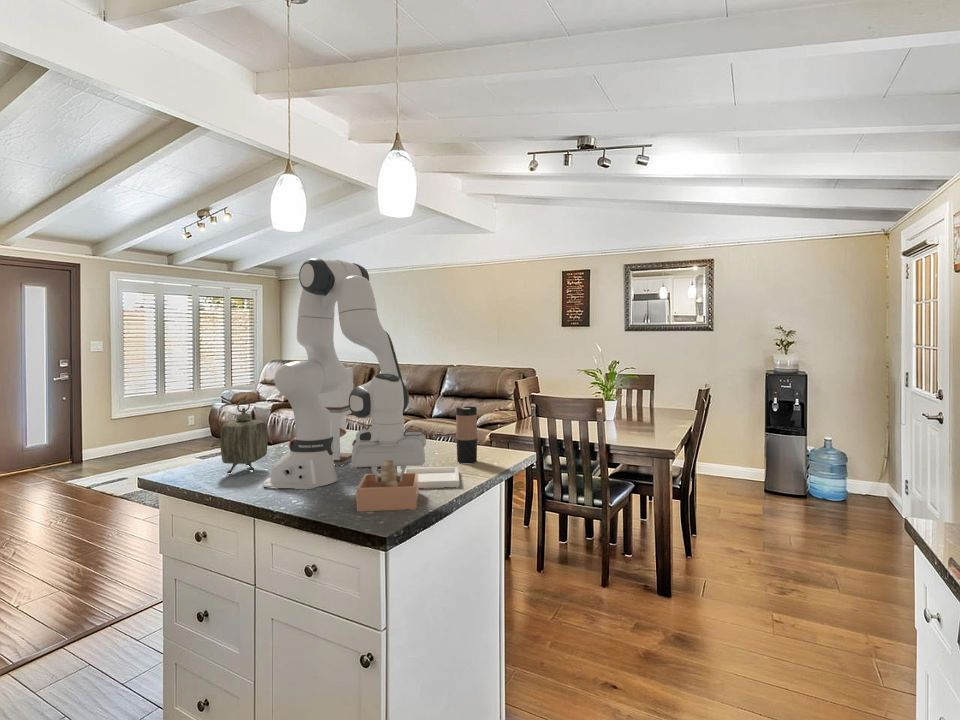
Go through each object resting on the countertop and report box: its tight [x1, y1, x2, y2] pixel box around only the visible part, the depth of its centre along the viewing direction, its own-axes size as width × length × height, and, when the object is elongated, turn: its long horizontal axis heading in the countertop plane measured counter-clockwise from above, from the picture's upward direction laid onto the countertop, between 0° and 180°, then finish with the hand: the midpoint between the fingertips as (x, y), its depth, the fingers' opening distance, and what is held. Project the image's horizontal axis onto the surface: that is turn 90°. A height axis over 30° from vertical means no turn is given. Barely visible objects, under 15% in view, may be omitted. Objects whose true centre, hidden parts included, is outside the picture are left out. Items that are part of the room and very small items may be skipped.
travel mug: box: [455, 405, 478, 464], centre depth 197 cm, size 8×8×20 cm
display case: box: [319, 366, 354, 466], centre depth 199 cm, size 11×11×35 cm
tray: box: [404, 466, 460, 489], centre depth 171 cm, size 18×18×2 cm
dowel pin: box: [380, 460, 398, 487], centre depth 150 cm, size 4×4×12 cm
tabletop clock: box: [219, 399, 268, 474], centre depth 185 cm, size 14×9×25 cm, turn 171°
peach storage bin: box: [356, 472, 420, 512], centre depth 150 cm, size 16×16×6 cm
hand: (389, 481), depth 150 cm, fingers closed on dowel pin, 4 cm apart
